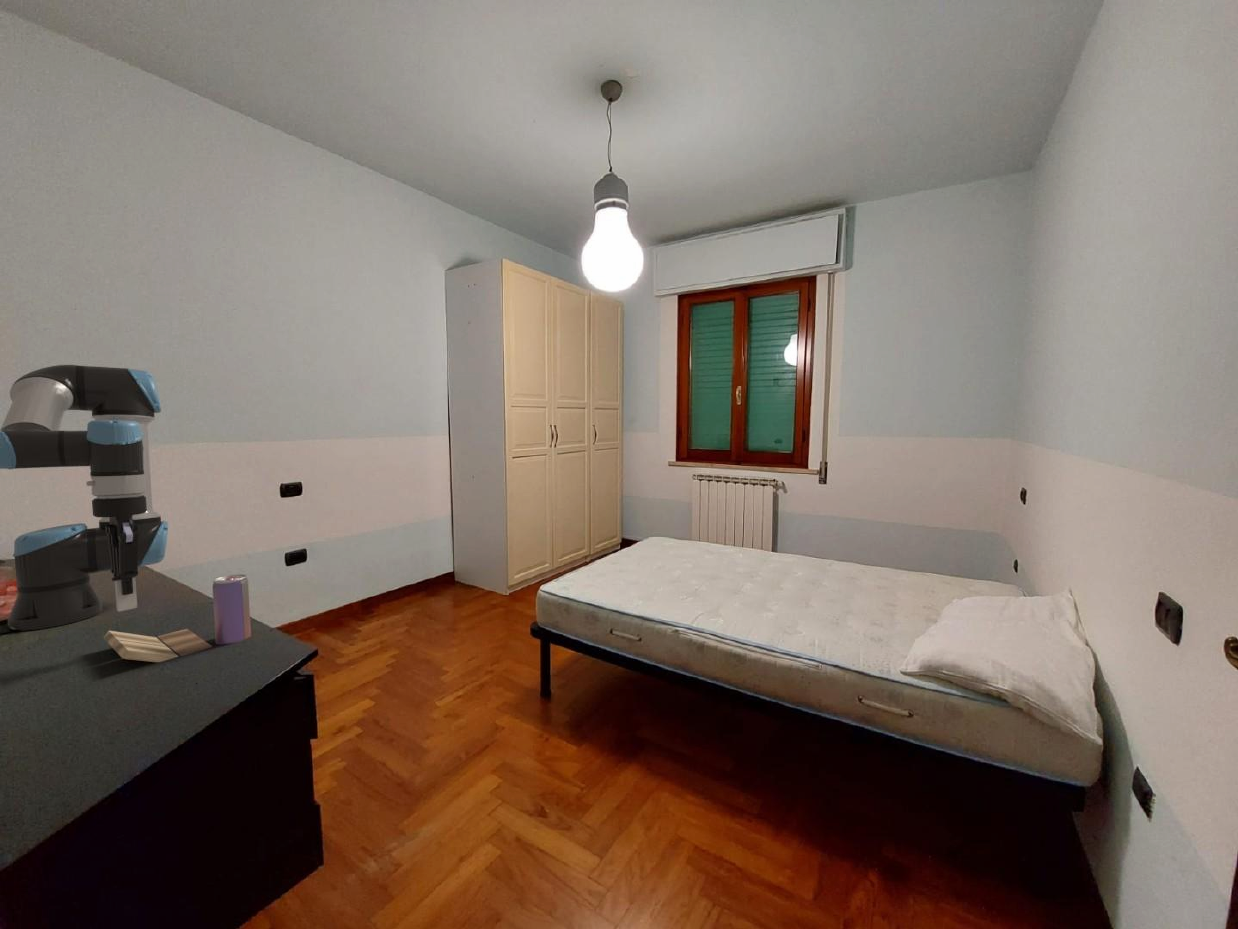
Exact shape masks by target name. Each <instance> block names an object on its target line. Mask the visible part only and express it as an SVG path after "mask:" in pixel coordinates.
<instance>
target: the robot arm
mask: <svg viewBox="0 0 1238 929" xmlns="http://www.w3.org/2000/svg"><path fill="white" fill-rule="evenodd" d="M155 381H156V380H155V378H154V376H153V374H152V373H151V372H149V371H147V370H141V369H132V368H123V367H121V368H120V367H109V366H108V367H106V366H89V365H77V364H60V365H59V364H57V365H52V366H47V367H46V366H45V367H43V368H42V367H41V368H39V369H36V370H33V371H30V372H27V373H26V374H24V375H22V376H21V377H19V378H17V379H16V380H15V381H14V382H13V384H12V386H11V388H10V390H9V398H10V400H11V401H12V402H11V405H10V407H9V409H8V411H7V414H6V416H5V418H4V420H3V423H2V425H1V427H0V469H2V470H3V469H4V470H15V469H16V470H17V469H38V468H39V469H40V468H65V467H67V468H68V467H70V468H71V467H75V468H76V467H89V469H90V474H89V476H90V479H91V480H88V481H86V484H85V485H86V486H88V487H91V495H92V496H93V497H95V498H93V499H92V500H91V507H92V509H91V510H92V515H93V516H94V517H95V518H100V519H99V520H98V527H93V528H88V526H87V525H86V523H73V524H72V523H71V524H65V525H59V526H52V527H47V528H42V529H37V530H33V531H29V532H26V533H23V534H21V535H19V536H18V537H16V539H15V540H14V542H13V543H14V544H13V545H14V546H13V552H14V553H13V554H12V556H13V557H14V566H15V574H16V575H15V576H16V577H15V579H16V588H17V596H16V598H15V601H14V603H13V606H12V608H11V611H10V613H9V615H8V618H7V627H8V626H10V627H13V628H15V629H16V630H20V632H23V631H33V630H42V629H47V628H48V629H49V628H54V627H58V626H64V625H67V624H71V623H76V622H79V621H83V620H86V619H89V618H92V617H94V616H97V615H99V614H100V613H101V612H103V603H102V600H101V598H100V597H99V595H98V593H97V591H96V590H95V589H94V587H93V586H92V584H91V575H90V574H93V573H94V574H95V573H104V572H107V571H111V574H113V577H112V578H111V581H112V582H114V588H115V589H114V590H115V591H114V592H115V606H116V607H115V608H116V611H117V612H124V611H128V610H133V609H136V608H138V599H137V598H138V597H137V596H138V595H137V586H136V585H137V584H136V577H137V576H138V575H139V571H138V570H139V568H142V567H145V566H150V565H156V564H159V563H161V562H162V561H163V560H164V558H165V554H166V548H167V542H168V541H167V540H168V533H169V532H168V531H169V530H168V529H169V521H165V520H162V519H161V518H162V516H161V514H159V513H157V512H156V511H154V510H153V496H152V480H151V465H150V464H151V462H150V461H151V460H150V447H149V446H150V445H149V434H148V433H149V430H148V429H149V428H148V425H149V424H150V423H151V422H153V421H154V420H155V419H156V418H155V414H158V413H161V412H162V408H161V403H160V398H159V392H158V390H157V385H156V382H155ZM66 411H84V412H85V411H87V412H91V418H92V419H94V420H90V421H89V422H88V423H87V425H86V426H87V427H86V428H87V430H60V429H61V426H62V420H63V417H64V412H66Z"/></svg>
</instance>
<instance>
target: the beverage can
mask: <svg viewBox="0 0 1238 929" xmlns="http://www.w3.org/2000/svg"><path fill="white" fill-rule="evenodd" d="M249 594H250V591H249V580H248V575H246V574H238V573H237V574H229V575H225V576H221V577H218V578H217V577H216V578H215V579H214V580H213V584H212V599H213V600H212V601H213V602H212V603H213V616H214V617H213V618H214V620H213V621H214V622H213V623H214V634H215V636H214V637H215V644H217V645H228V644H234V643H238V642H239V643H240V642H242V641H245V640H246V639H248V638H250V637H251V636H252V634H251V633H252V632H251V614H250V613H251V612H250V610H251V609H250V595H249Z"/></svg>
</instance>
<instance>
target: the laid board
mask: <svg viewBox="0 0 1238 929" xmlns="http://www.w3.org/2000/svg"><path fill="white" fill-rule="evenodd" d="M156 638H157V639H158V640H160V641H161V642H162V643H163V644H165V645H166V646H167V647H168V648H169V649H171V650H172V651H173V652H174V653H175V654H177V655H178V656H180V657H183V656H187V655H189V654H193V653H196V652H200V651H203V650H207V649H210V648H213V646H212V645H211V644H209V643H208V642H207V641H205V640H204V639H202V638H201V637H199V636H198V635H197V634H196V633H194V632H193V631H191V630H190V629H189V628H185V629H180V630H177V631H172V632H169V633H164V634H162V635H161V634H160V635H157V637H156Z"/></svg>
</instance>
